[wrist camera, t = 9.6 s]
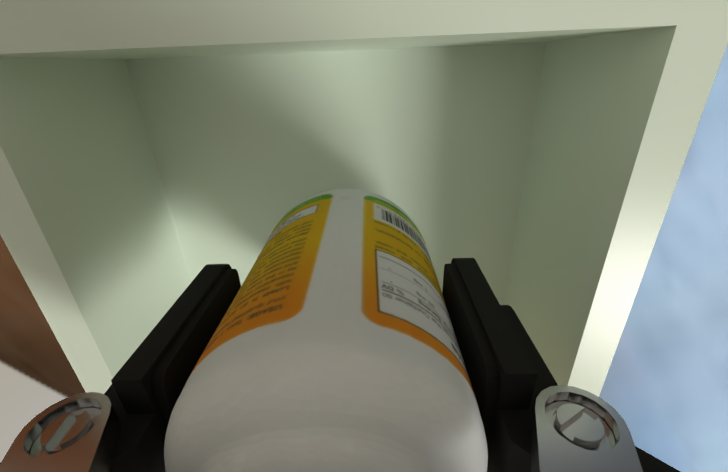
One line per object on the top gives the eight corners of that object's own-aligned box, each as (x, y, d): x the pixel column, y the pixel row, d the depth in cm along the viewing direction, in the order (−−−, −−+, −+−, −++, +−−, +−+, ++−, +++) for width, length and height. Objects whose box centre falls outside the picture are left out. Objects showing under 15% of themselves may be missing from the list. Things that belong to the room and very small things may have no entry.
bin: (569, 6, 11) (761, -49, 6) (504, 360, 18) (564, 489, 12) (104, 27, 11) (-131, -7, 6) (209, 366, 18) (141, 494, 13)
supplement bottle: (274, 318, 13) (92, 806, 5) (264, 180, 11) (-157, 645, 2) (416, 325, 13) (508, 821, 5) (437, 189, 11) (707, 674, 2)
